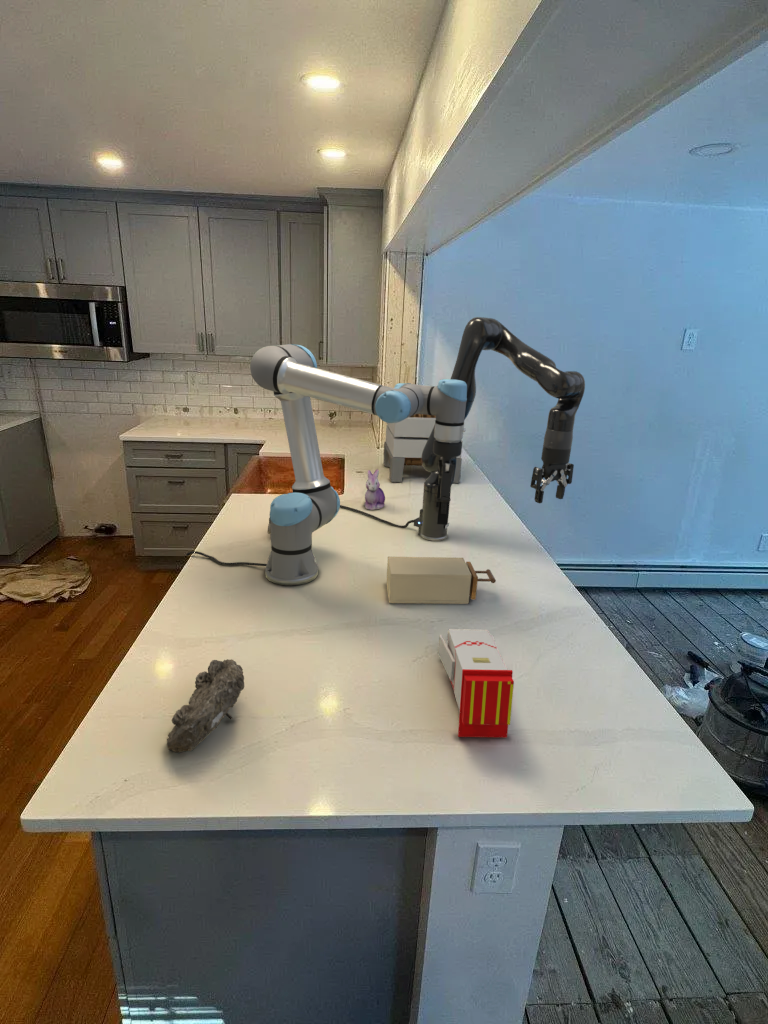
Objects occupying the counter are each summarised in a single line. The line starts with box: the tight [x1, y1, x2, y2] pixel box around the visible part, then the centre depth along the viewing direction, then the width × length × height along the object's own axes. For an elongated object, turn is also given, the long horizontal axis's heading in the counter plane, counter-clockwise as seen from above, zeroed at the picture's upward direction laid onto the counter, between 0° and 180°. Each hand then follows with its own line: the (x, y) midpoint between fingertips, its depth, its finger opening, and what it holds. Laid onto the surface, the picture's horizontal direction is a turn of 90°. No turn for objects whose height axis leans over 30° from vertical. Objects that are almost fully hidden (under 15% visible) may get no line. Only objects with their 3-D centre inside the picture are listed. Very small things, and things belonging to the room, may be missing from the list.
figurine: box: [363, 468, 386, 511], centre depth 223 cm, size 9×10×15 cm
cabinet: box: [385, 556, 471, 605], centre depth 157 cm, size 22×11×9 cm, turn 94°
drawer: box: [465, 561, 497, 601], centre depth 158 cm, size 26×10×7 cm, turn 94°
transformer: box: [383, 414, 466, 484], centre depth 268 cm, size 34×33×41 cm
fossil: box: [166, 658, 245, 754], centre depth 106 cm, size 22×10×15 cm
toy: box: [437, 628, 515, 738], centre depth 117 cm, size 12×13×30 cm
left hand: (441, 515), depth 157 cm, fingers open, 13 cm apart
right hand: (548, 500), depth 162 cm, fingers open, 8 cm apart
